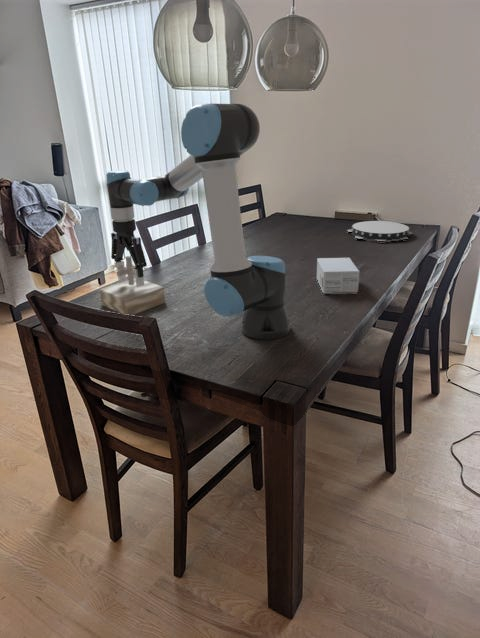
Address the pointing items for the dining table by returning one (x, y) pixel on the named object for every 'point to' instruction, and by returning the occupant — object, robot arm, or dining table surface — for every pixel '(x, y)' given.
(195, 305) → the dining table surface
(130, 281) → the pipe connector
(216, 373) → the dining table surface
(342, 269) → the supplement box
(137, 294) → the stand
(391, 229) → the tambourine
